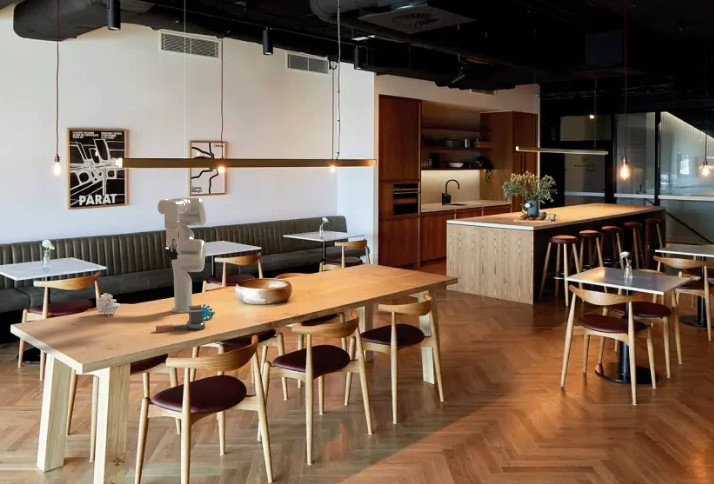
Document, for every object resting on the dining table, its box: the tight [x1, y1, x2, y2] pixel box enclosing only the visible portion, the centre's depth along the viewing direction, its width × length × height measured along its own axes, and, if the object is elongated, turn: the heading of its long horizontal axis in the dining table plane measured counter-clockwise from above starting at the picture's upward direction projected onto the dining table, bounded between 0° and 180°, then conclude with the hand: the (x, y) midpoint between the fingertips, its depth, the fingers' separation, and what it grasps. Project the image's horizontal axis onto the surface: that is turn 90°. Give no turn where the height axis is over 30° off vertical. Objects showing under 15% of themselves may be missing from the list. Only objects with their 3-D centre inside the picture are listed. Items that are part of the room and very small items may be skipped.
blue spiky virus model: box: [199, 303, 216, 321], centre depth 343 cm, size 11×6×10 cm
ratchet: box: [155, 320, 206, 334], centre depth 319 cm, size 9×24×7 cm, turn 113°
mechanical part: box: [96, 292, 121, 317], centre depth 350 cm, size 11×12×12 cm
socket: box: [188, 304, 203, 324], centre depth 322 cm, size 6×6×8 cm
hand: (172, 258), depth 333 cm, fingers open, 9 cm apart
